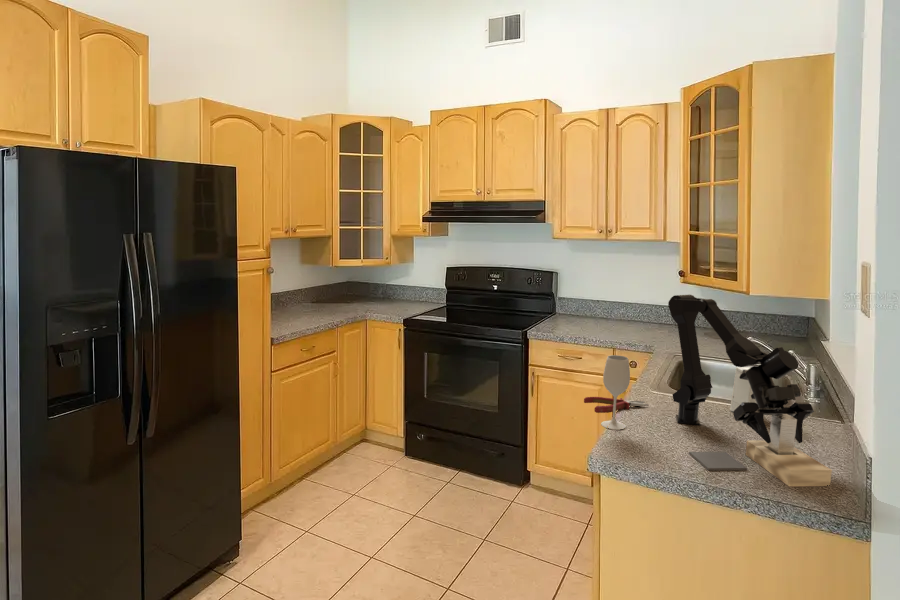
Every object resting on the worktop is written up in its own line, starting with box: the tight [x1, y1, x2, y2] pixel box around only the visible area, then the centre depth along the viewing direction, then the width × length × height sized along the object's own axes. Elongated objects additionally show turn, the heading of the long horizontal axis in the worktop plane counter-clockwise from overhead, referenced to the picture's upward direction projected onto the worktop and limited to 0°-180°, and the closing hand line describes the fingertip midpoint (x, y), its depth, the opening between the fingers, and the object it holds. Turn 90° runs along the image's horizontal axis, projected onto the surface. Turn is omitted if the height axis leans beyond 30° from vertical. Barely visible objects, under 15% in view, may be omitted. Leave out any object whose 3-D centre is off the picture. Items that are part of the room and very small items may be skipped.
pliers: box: [583, 396, 649, 414], centre depth 189 cm, size 12×20×3 cm, turn 98°
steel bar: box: [768, 414, 797, 455], centre depth 145 cm, size 4×4×13 cm
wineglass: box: [600, 354, 631, 431], centre depth 170 cm, size 8×8×21 cm
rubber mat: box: [688, 451, 748, 471], centre depth 147 cm, size 10×10×1 cm
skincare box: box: [729, 366, 757, 412], centre depth 183 cm, size 8×6×15 cm
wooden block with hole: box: [745, 439, 833, 487], centre depth 143 cm, size 18×10×4 cm, turn 3°
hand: (785, 442), depth 144 cm, fingers open, 8 cm apart
